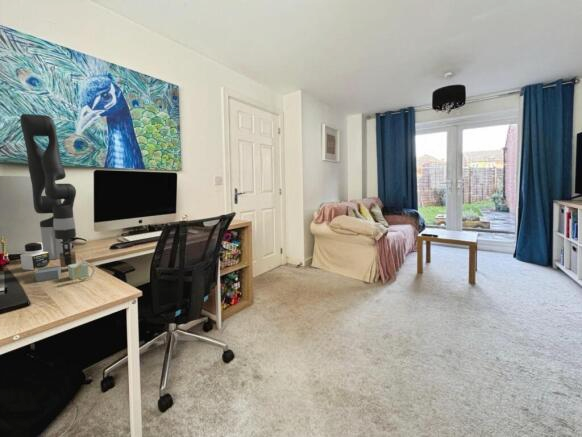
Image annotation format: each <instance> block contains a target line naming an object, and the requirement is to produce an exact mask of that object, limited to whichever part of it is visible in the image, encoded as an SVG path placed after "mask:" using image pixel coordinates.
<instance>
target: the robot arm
mask: <svg viewBox="0 0 582 437" xmlns="http://www.w3.org/2000/svg"><path fill="white" fill-rule="evenodd" d="M19 121H20V122H19V123H20V127H21V132H22V135H23V140H24V144H25V148H26V149H25V150H26V156H27V165H28V171H29V177H30V181H31V188H32V190H31V191H32V201H33V208H34V211H35V213H36V214H41V215H42V214H44V215H45V214H52V216H51V217H49V218H45V219H44V220H41V221H39V228H40V235H41V243H42V245H43V251H42V252H48V253H49V261H51V260H58V259H59V260H60V253H63V254H64V255H63V257H64V258H65V265H71V252H72V251H73V246H72V245H73V241H72V240H71V239H73V238H76V236H77V232H76V222H75V219H74V203H75V199H76V196H77V190H76V187H75V186H74V185H73V184H71V183H56V181H60V180H63V179H65V178H66V171H65V169H64V164H63V162H62V157H61V152H60V146H59V140H58V133H57V130H56V125H55V121H54V120H53V118H52V117H51V116H50V115H46V114H44V115H43V114H35V113H34V114H32V113H30V114H29V113H22V114H21V115H20V119H19ZM35 137H47V138H48V142H47V146H46V148H45V149H44V150H43V149H42V148H41V147H40V146H39V145H38V143H37V142H36V141H35ZM43 192H44V194H45V195H43ZM62 200H63V202H62ZM65 252H69V254H65Z"/></svg>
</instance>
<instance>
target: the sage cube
mask: <svg viewBox="0 0 582 437" xmlns="http://www.w3.org/2000/svg"><path fill="white" fill-rule="evenodd" d="M81 262H82V263H83V262H84V261H81ZM81 262H76V264H71V265H68V267H67V272H68V277H69V278H70V280H72V281H76V280H78V279H77V278H76V277H75V275H74V270H75V268H76V266H77V265H78V264H80V263H81ZM76 274H77V277H79V278H81V279H84V278H88V277H90V275H89V266H87V265H85V266H83V267H81V268H80V269H79V270H78V271H77V273H76Z"/></svg>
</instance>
